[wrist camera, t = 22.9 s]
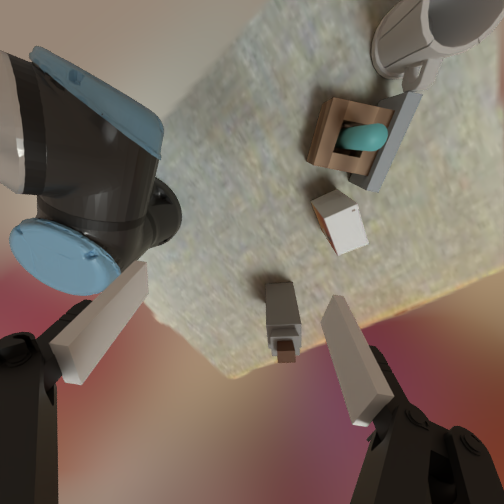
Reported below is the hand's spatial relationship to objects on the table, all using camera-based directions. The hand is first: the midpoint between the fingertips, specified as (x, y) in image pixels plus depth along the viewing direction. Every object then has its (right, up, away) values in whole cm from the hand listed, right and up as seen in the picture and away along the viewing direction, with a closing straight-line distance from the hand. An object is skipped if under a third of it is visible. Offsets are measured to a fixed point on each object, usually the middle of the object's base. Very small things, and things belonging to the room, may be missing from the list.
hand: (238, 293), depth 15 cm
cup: (+24, +33, +17) cm, 44 cm away
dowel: (+16, +22, +21) cm, 35 cm away
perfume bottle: (+8, -8, +40) cm, 41 cm away
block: (+16, +23, +23) cm, 36 cm away
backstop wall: (+22, +22, +23) cm, 39 cm away
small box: (+17, +11, +29) cm, 36 cm away
